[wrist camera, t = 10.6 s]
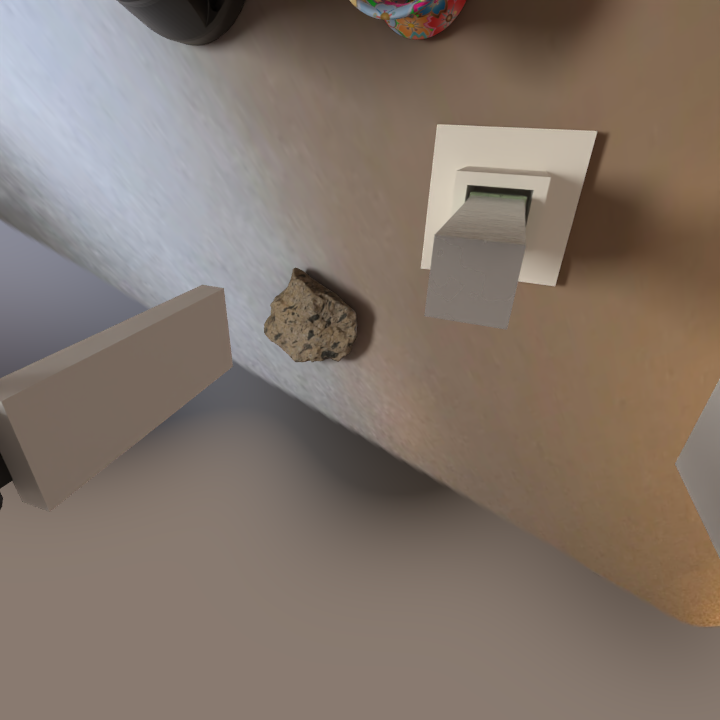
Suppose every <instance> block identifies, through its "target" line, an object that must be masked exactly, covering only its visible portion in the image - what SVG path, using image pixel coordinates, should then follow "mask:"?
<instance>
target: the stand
mask: <svg viewBox="0 0 720 720" xmlns="http://www.w3.org/2000/svg"><path fill="white" fill-rule="evenodd" d="M596 135H597V131H583V130H559V129H536V128H512V127H488V126H464V125H440V124H437V131H436V140H435V149H434V158H433V166H432V175H431V184H430V193H429V201H428V210H427V219H426V228H425V237H424V245H423V254H422V263H421V268H423V269H430V267H431V259H432V251H433V243H434V235H435V234H436V233H437V232H438V231H439V230H440V229H441V227H442V226H443V225H444V224H445V223H446V222H447V221H448V220H449V219H450V218H451V217H452V216H453V215H454V214H455V212H456V211H457V210H458V209H459V208H460V207H461V206H462V205H463V204H464V203H465V202H466V201H467V200H468V199H469V197H470V193H471V192H475V191H479V192H491V193H503V194H515V195H524V196H527V200H526V204H525V227H526V248H525V253H524V257H523V261H522V266H521V270H520V275H519V279H518V281H520V282H527V283H535V284H542V285H550V286H555V285H556V281H557V278H558V274H559V270H560V267H561V263H562V259H563V256H564V252H565V248H566V245H567V241H568V237H569V234H570V230H571V226H572V223H573V219H574V215H575V212H576V208H577V204H578V201H579V197H580V193H581V190H582V186H583V182H584V179H585V175H586V171H587V168H588V164H589V160H590V157H591V153H592V149H593V146H594V142H595V138H596Z"/></svg>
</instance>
